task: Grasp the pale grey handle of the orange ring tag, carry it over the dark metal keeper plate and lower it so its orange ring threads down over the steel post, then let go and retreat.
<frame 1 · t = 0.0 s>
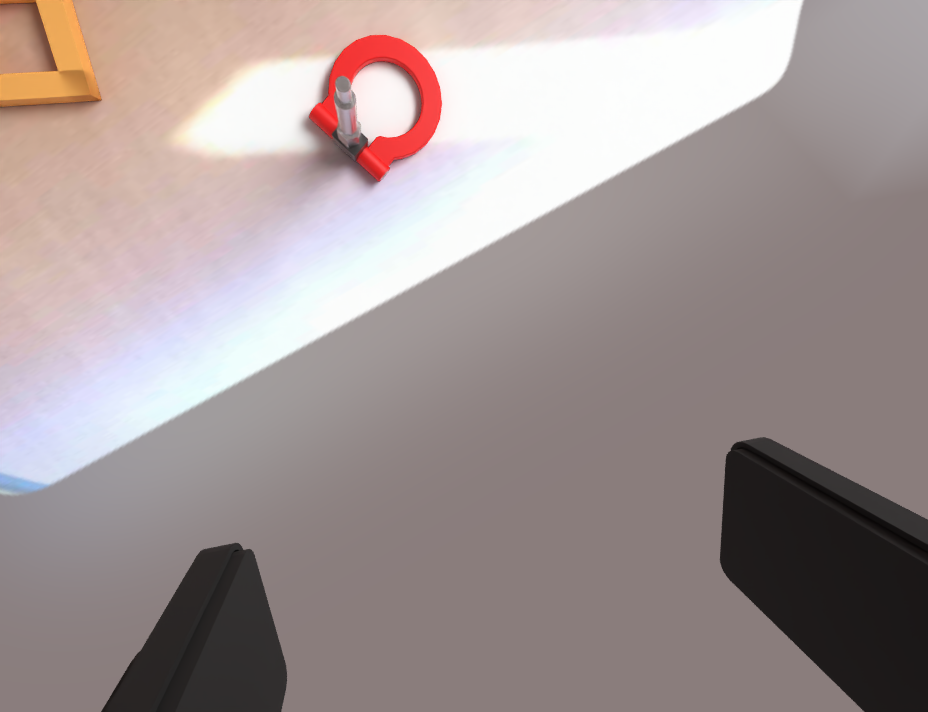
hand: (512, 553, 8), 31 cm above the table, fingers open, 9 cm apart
tow hook: (382, 107, 34), on the table
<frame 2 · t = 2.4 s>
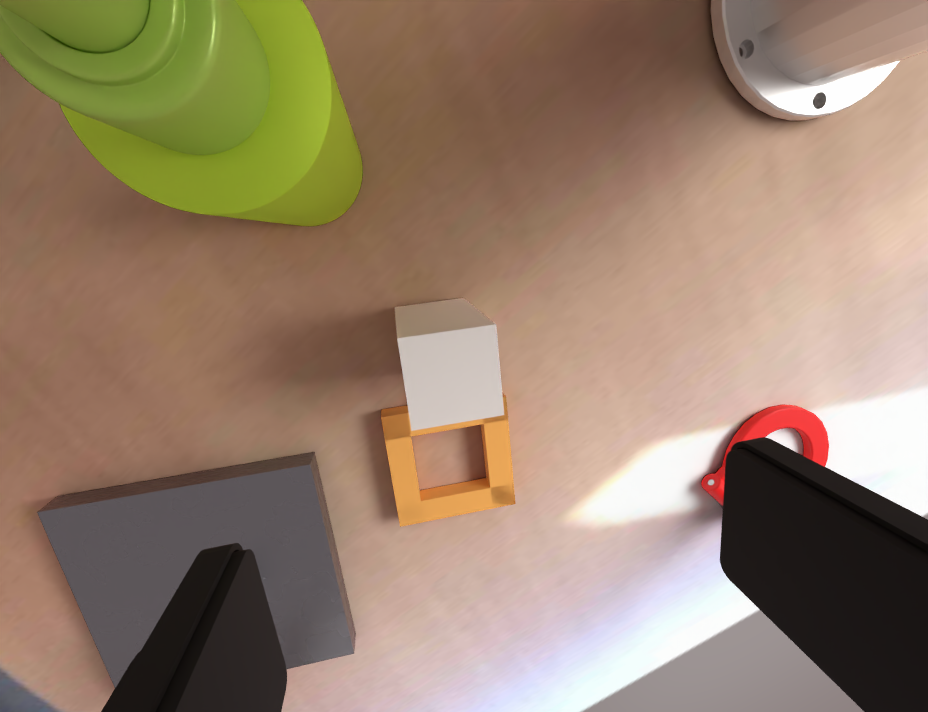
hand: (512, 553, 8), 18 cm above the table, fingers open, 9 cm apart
keeper plate: (222, 572, 27), on the table
tow hook: (762, 460, 33), on the table
soap dispenser: (311, 159, 22), on the table
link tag: (433, 336, 26), on the table
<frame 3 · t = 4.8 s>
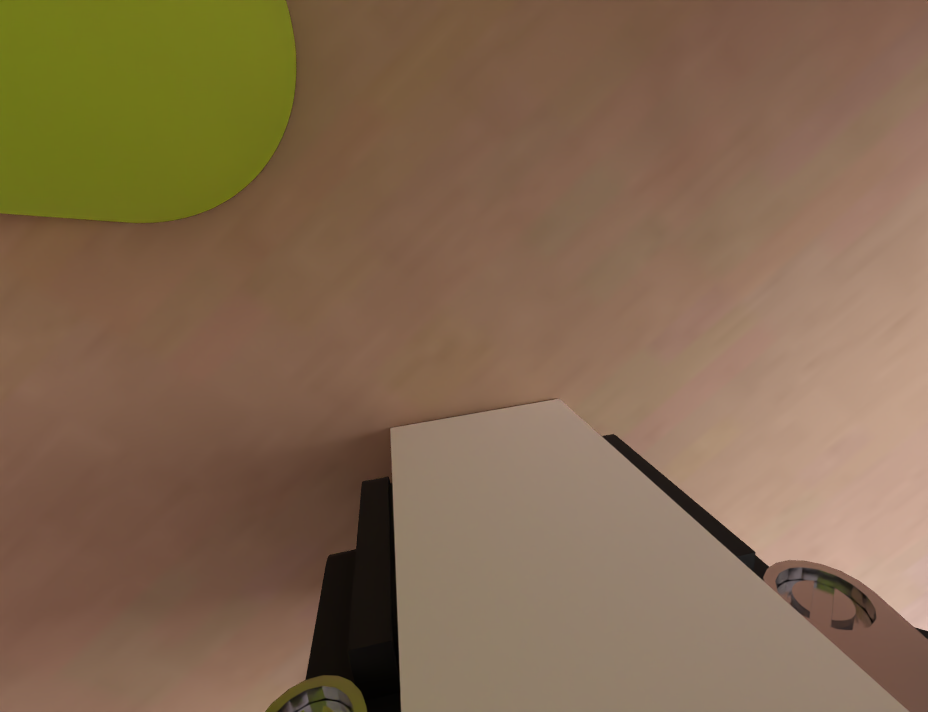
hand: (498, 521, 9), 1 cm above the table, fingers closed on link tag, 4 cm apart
soap dispenser: (140, 23, 7), on the table
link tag: (485, 488, 11), on the table, touching gripper
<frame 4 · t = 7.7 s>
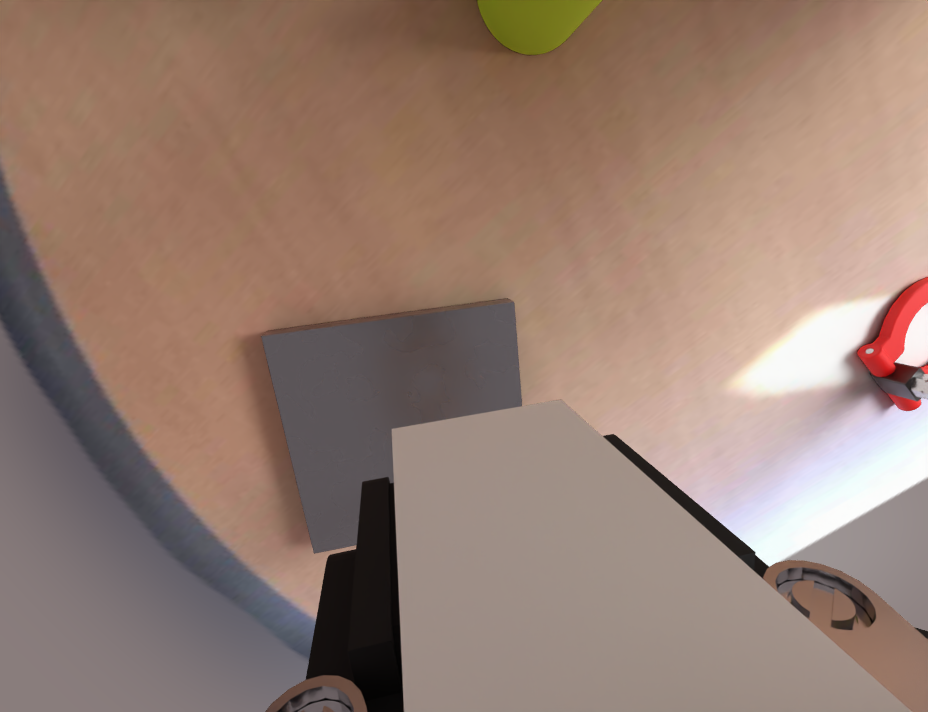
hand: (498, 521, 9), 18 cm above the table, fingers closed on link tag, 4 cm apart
keeper plate: (409, 422, 28), on the table
tow hook: (912, 335, 33), on the table
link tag: (486, 489, 11), point 17 cm above the table, touching gripper
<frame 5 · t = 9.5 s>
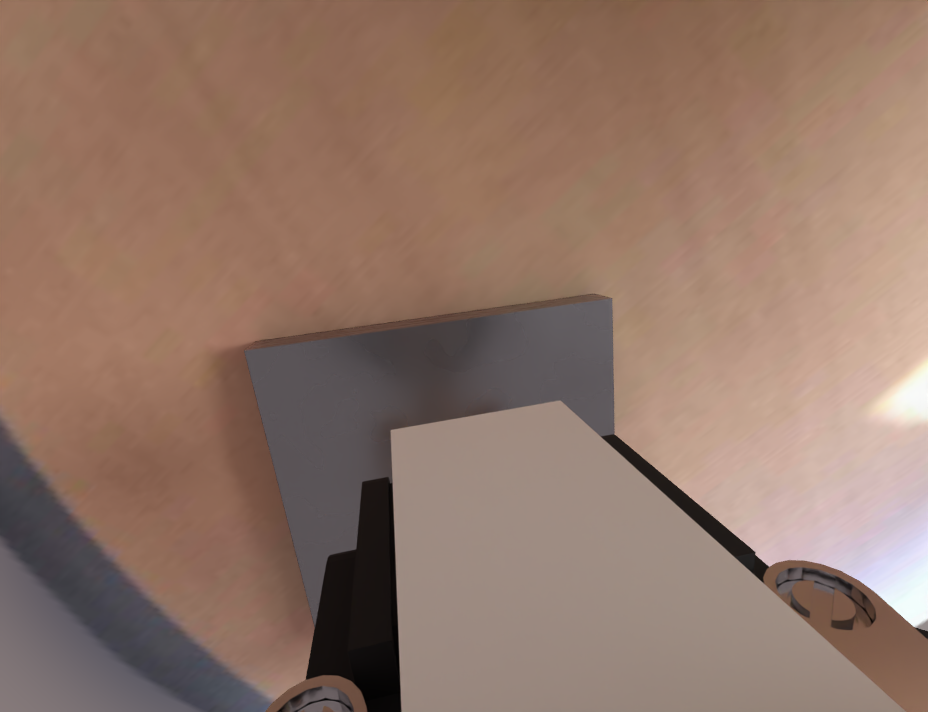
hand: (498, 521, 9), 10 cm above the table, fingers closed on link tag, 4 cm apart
keeper plate: (454, 468, 20), on the table
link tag: (486, 490, 11), point 9 cm above the table, touching gripper
when the fingers open (4 cm above the table, at t = 10.9 s): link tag drops 1 cm, resting on keeper plate.
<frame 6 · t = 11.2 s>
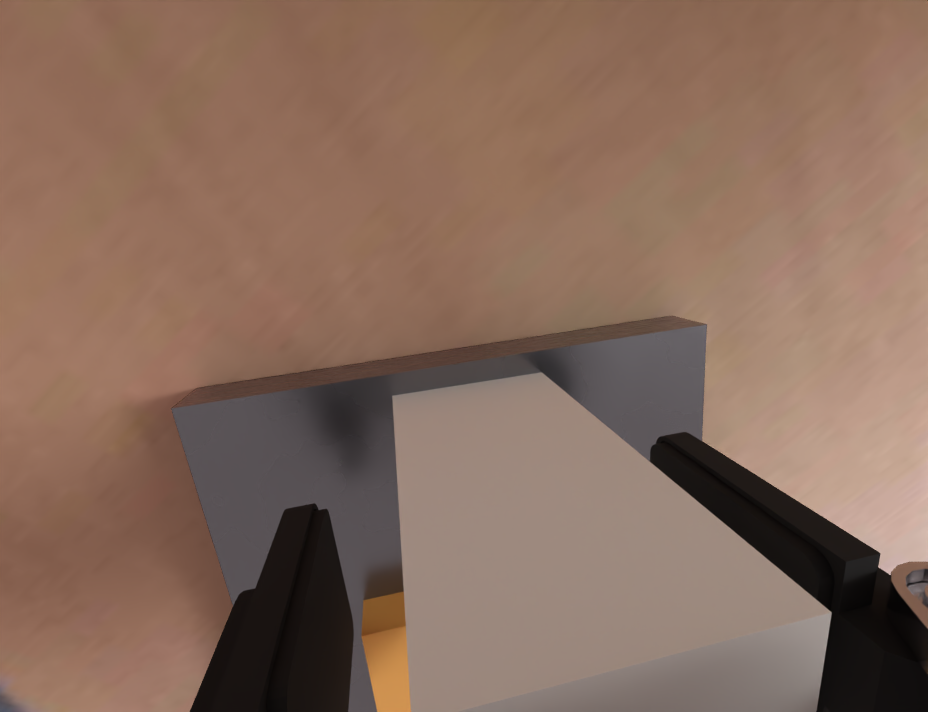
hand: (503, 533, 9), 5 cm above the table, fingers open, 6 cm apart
keeper plate: (477, 550, 15), on the table
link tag: (476, 452, 12), point 1 cm above the table, touching keeper plate
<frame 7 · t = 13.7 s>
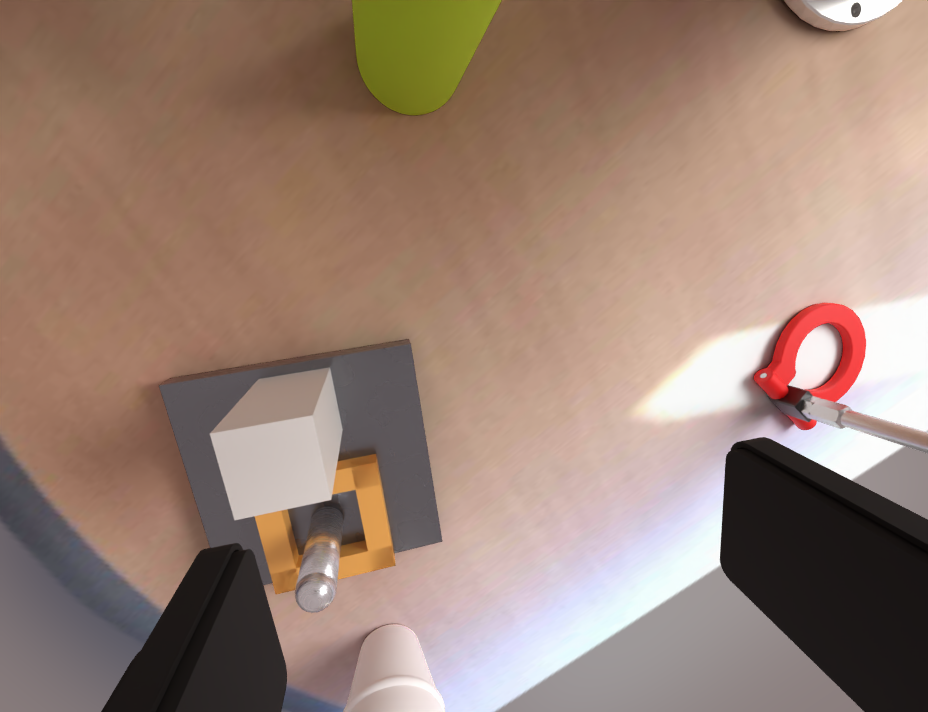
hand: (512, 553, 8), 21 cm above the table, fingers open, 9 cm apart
keeper plate: (318, 460, 29), on the table
tow hook: (806, 359, 35), on the table
soap dispenser: (416, 53, 25), on the table
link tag: (301, 405, 26), point 1 cm above the table, touching keeper plate
soft serve ice cream cone: (390, 644, 33), on the table
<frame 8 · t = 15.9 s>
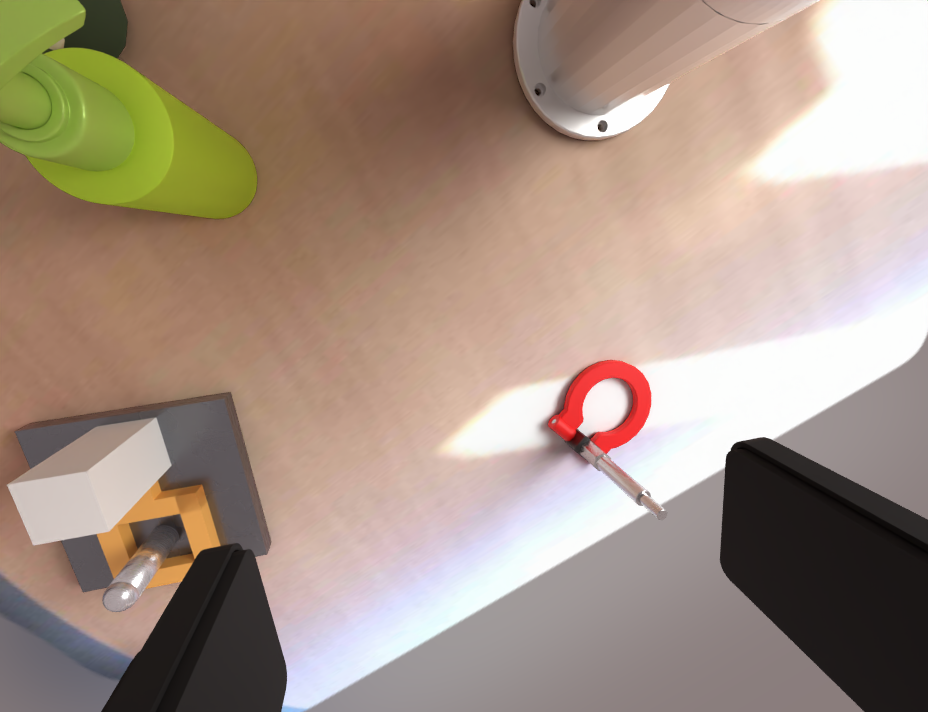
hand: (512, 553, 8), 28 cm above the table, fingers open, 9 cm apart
character mug: (79, 24, 27), on the table
keeper plate: (160, 487, 35), on the table
tow hook: (600, 405, 41), on the table
soap dispenser: (218, 170, 31), on the table
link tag: (135, 446, 33), point 1 cm above the table, touching keeper plate
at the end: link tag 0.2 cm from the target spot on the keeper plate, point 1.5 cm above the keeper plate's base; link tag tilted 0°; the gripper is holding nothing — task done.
